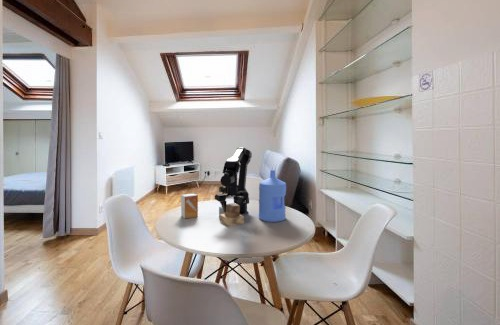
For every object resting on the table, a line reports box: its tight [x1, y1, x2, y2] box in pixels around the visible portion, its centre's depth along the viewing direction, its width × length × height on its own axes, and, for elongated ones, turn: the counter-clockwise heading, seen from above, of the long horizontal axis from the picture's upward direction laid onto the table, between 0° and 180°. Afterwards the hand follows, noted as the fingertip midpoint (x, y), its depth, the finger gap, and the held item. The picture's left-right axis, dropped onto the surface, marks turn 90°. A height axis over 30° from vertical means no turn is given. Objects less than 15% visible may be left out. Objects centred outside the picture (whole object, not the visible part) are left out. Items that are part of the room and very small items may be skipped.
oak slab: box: [219, 214, 245, 227], centre depth 141 cm, size 10×10×4 cm
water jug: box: [258, 169, 287, 223], centre depth 147 cm, size 16×16×28 cm
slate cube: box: [218, 205, 225, 218], centre depth 151 cm, size 6×6×6 cm
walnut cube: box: [225, 202, 241, 218], centre depth 141 cm, size 6×6×6 cm
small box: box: [180, 193, 199, 219], centre depth 150 cm, size 8×6×13 cm
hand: (232, 210), depth 141 cm, fingers open, 9 cm apart
